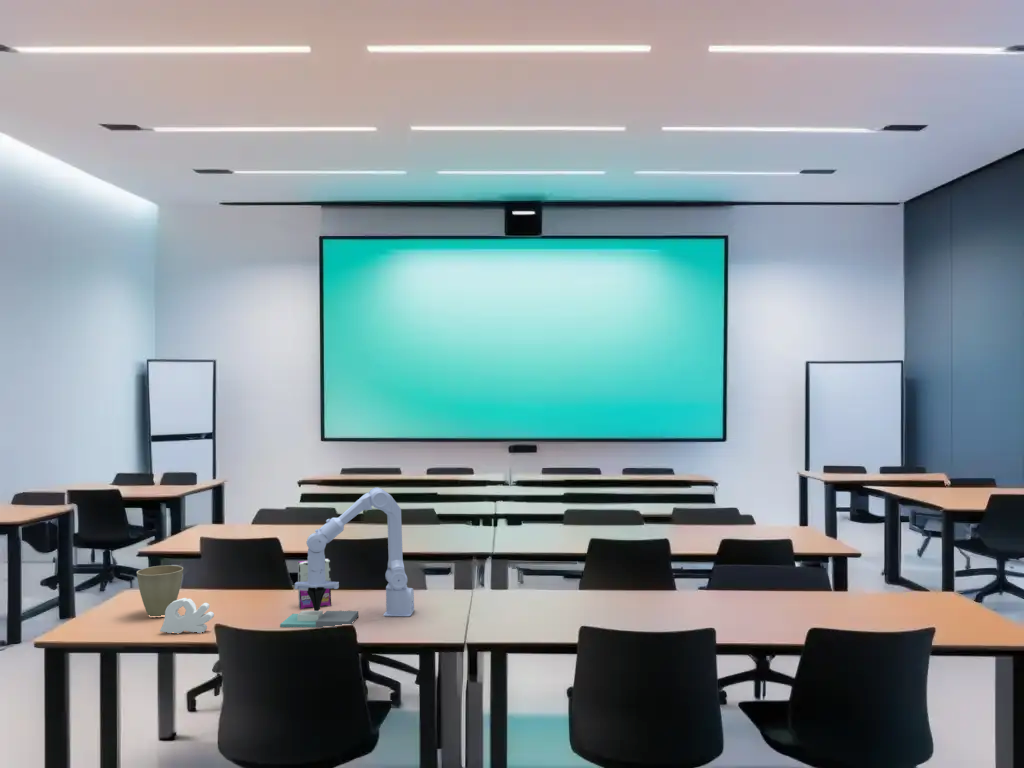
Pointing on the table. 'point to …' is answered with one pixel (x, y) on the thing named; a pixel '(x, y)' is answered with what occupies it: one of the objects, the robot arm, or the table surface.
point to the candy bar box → (303, 595)
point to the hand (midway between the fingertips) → (317, 610)
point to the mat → (297, 622)
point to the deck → (336, 618)
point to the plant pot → (159, 587)
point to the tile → (309, 615)
